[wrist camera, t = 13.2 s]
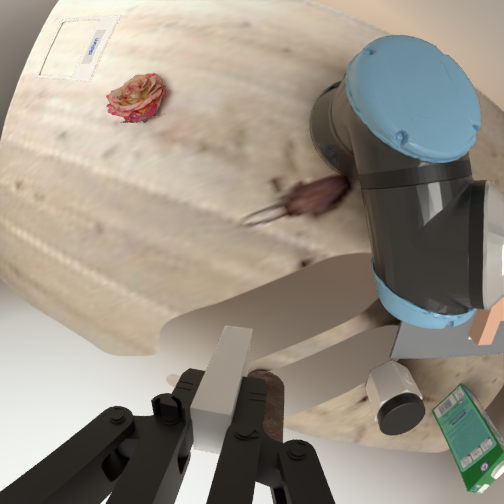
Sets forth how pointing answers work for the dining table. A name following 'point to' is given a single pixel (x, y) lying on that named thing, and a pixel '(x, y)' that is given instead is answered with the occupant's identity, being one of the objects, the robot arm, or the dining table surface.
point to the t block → (487, 324)
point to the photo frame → (89, 48)
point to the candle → (272, 404)
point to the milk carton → (471, 439)
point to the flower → (137, 98)
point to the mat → (442, 341)
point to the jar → (394, 398)
